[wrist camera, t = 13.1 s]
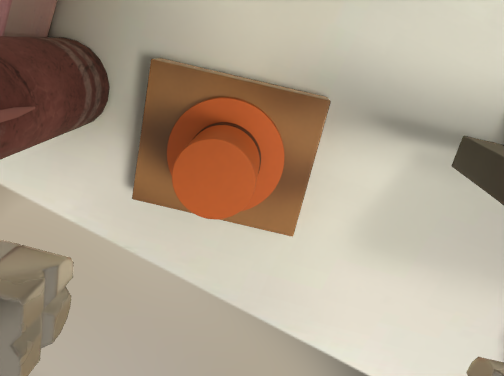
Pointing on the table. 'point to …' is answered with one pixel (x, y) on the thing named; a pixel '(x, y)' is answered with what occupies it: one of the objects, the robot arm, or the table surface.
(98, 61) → the can
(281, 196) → the brown wooden slab
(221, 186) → the hat
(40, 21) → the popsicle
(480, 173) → the thin dark grey board
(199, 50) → the table surface
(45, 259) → the robot arm
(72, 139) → the table surface
